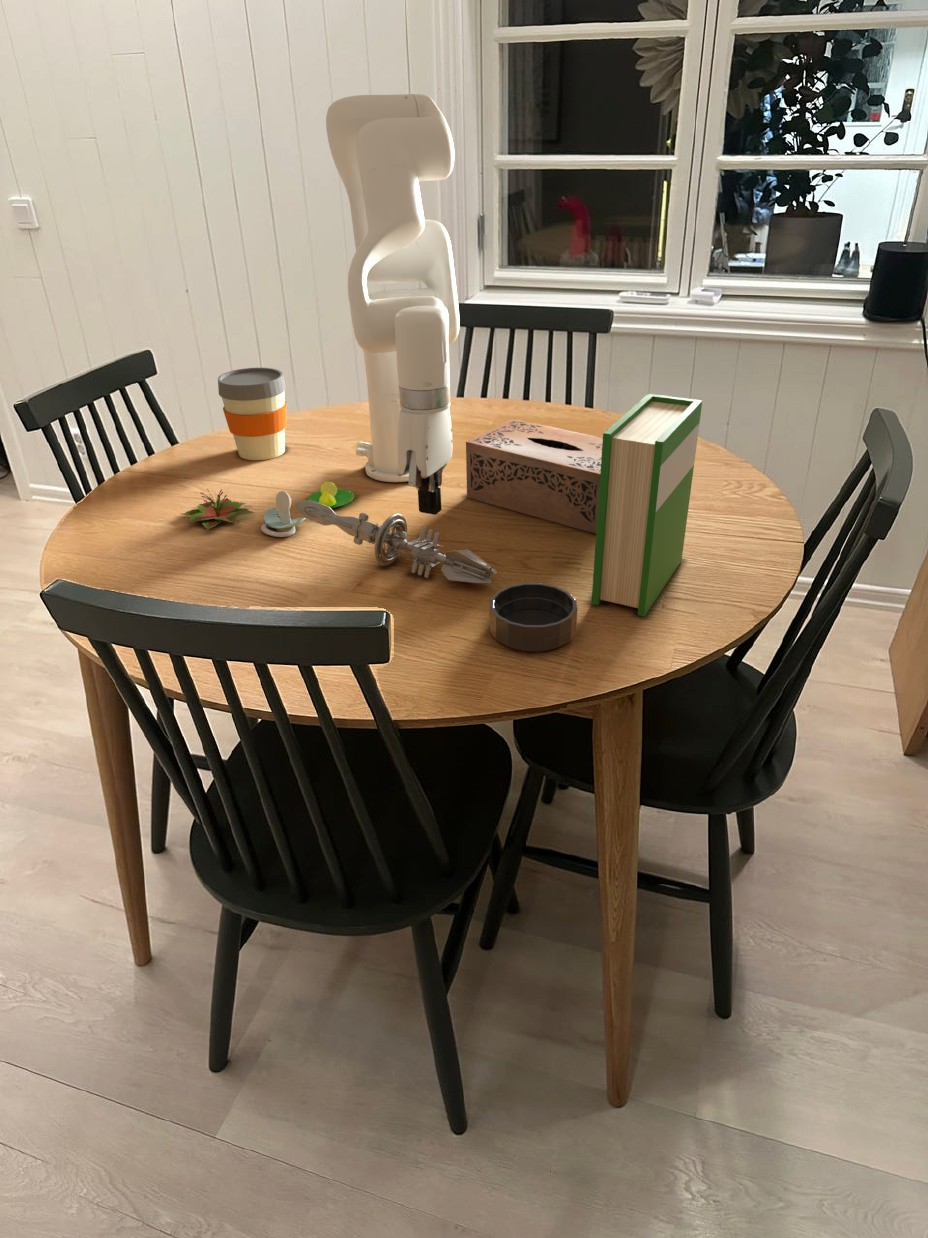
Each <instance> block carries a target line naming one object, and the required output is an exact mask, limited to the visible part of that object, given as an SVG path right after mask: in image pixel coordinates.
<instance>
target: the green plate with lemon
mask: <svg viewBox="0 0 928 1238" xmlns="http://www.w3.org/2000/svg"><path fill="white" fill-rule="evenodd" d="M319 489H320V490H318V491H315V492H313V493H312V494H310V495H309V496H308V497H307V500H310V501H315V502H317V503H320V504H323V505H325V506H328V507H330V508H331V509H334V508H339V507H343V506H345V505H347V504H349V503H351V502H352V501H353V500H354V499H355V494H354V493H353V492H352V491H350V490H348V489H344V488H338V487H337V485H336V484H335V483H334V482H332V481H325V482H323V483H322V484H321V485H320V488H319Z"/></svg>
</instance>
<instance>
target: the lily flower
mask: <svg viewBox="0 0 928 1238" xmlns="http://www.w3.org/2000/svg"><path fill="white" fill-rule="evenodd" d="M206 490H207V492H208V493H209V495H210V496H211V497H210V496H208V495H206V494H205V493H204V492H199V493H200V494H201V498H205V499H207V500H209V501H207V500H205V499H203V502H204V503H199V504H198V505H197V508H194V509H190V510H188V511H186V512H181V515H183V516H186V517H189V519H188V522H187V523H186V526H188V525H191V524H194V523H197V522H200V521H201V525H203V527H204V528H206V530H207V531H209V530H210V529H212V528H214V527H216V526H217V525H219V524H221V523H223V522H224V521H225V522H229V523H232V524H233V525H237V518H238V517H240V516H245V515H249V514H255V513H256V512H254V511H252V510H249V509H248V508H243V507H242V506H244V505H247V504H248V502H241V501H240V502H239V501H232V500H231V499H229V498H228V497H227V496H228V494H225V495H224V496H223V498H222V499H221V496H222V495H223V494H224V491H223V489H220V491H219V492H218V494H216V498H217V500H215V499H214V497H213V496H212V494H211V492H210V491H209V489H208V488H206Z"/></svg>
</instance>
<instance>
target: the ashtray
mask: <svg viewBox="0 0 928 1238" xmlns="http://www.w3.org/2000/svg"><path fill="white" fill-rule="evenodd" d="M577 621H578V603H577V599H576V597H574V596H573V595H572V594H571V593H570V592H569V591H567V590H565V589H563V588H561V587H559V586H557V585H553V584H552V585H551V584H547V583H542V582H522V583H517V584H512V585H508V586H505V587H503V588H501V589H500V590H498V591H496V592H495V593H494V595H492V596H491V598H490V600H489V632H490V633H491V635H492V637H494V639H495V640H496V641H497V642H499V643H501V644H502V645H504V646H506V647H508V648H510V649H513V650H517V651H520V652H526V653H527V652H528V653H540V652H547V651H553V650H555V649H558V648H560V647H562V646H564V645H565V644H567V643H569V642H571V641H572V639H573V637H574V636H575V635H576V632H577V623H578V622H577Z"/></svg>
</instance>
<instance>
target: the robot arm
mask: <svg viewBox="0 0 928 1238" xmlns="http://www.w3.org/2000/svg"><path fill="white" fill-rule="evenodd" d="M325 127H326V128H325V129H326V135H327V141H328V142H327V143H328V146H329V150H330V154H331V156H332V161H333V162H334V165H335V168H336V170H337V172H338V175H339V177H340V179H341V181H342V183H343V185H344V189H345V191H346V194H347V198H348V201H349V208H350V215H351V223H352V230H353V231H352V232H353V238H354V247H355V252H354V255H353V257H352V259H351V262H350V266H349V268H348V276H347V296H348V301H349V308H350V309H349V310H350V316H351V323H352V324H351V325H352V329H353V333H354V334H353V335H354V338H355V340H356V343H357V345H358V347H359V348H360V349H361V350H362V353H363V360H364V367H365V369H364V370H365V376H366V377H365V378H366V379H365V380H366V388H367V399H368V400H367V401H368V413H369V426H370V438H371V443H369V442H366V441H358V442H357V444H356V450H355V455H356V456H358V457H366V458H367V462H366V463H365V466H364V468H365V469H364V470H365V473H366V475H367V476H368V477H370V478H371V479H374V480H376V481H379V482H385V483H406V482H408V487H410V488H415V490H416V491H417V501H418V502H417V503H418V511H419V513H422V514H428V515H433V516H436V515H438V514H439V513H440V512H441V511H442V492H441V491H442V490H441V489H442V488H441V486H442V484H443V472H444V469H446V467H447V465H448V463H449V462H450V461H451V459H452V458H453V450H454V448H453V444H454V443H453V429H452V428H453V426H452V417H451V410H450V407H451V405H452V404H451V384H450V383H451V377H450V376H451V373H450V348H449V347H450V346H449V345H450V344H451V345H452V344H453V343H454V342H456V340H457V339H458V336H459V333H460V328H461V327H460V323H461V322H460V309H459V300H458V291H457V282H456V273H455V265H454V255H453V249H452V243H451V239H450V236H449V233H448V231H447V229H446V227H445V226H444V225H443V224H442V223H441V222H440V221H438V220H434V219H425V215H424V209H423V203H422V197H421V190H420V184H419V182H432V181H444V180H446V179H448V178H449V176H451V174H452V172H453V170H454V165H455V147H454V141H453V136H452V132H451V129H450V126H449V124H448V122H447V119H446V117H445V116H444V114H443V112H442V111H441V109H440V108H439V107H438V105H437V104H436V102H435V101H434V100H433V99H432V97H430V96H429V95H426V94H417V93H412V94H411V93H410V94H409V93H407V94H405V93H404V94H360V95H358V94H357V95H351V96H346V97H342V98H339V99H337V100H335V101H333V102H332V103H331V104H330V105H329V106H328V108H327V111H326V116H325ZM368 282H369V283H372V284H400V283H412V282H422V283H424V284H425V286H426V287H425V288H410V289H408V288H405V289H402V288H401V289H387V290H380V291H375V292H371V293H368V286H367V283H368Z"/></svg>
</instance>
